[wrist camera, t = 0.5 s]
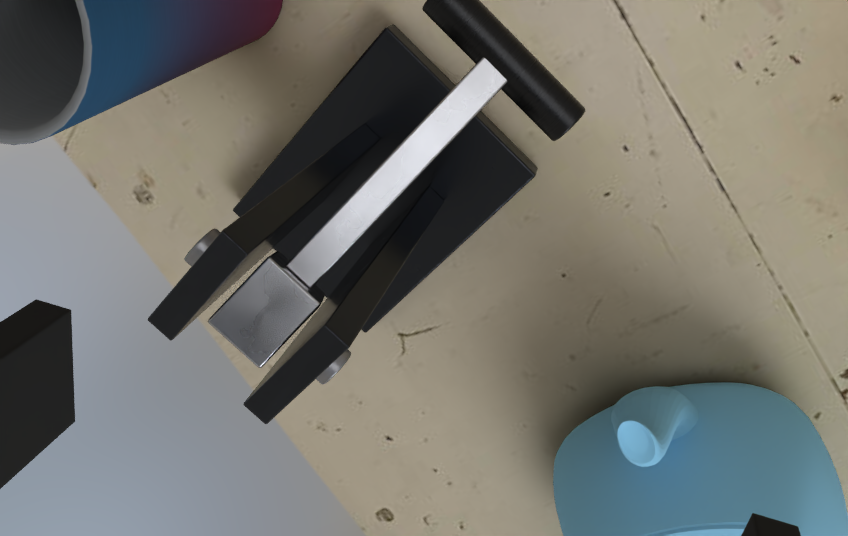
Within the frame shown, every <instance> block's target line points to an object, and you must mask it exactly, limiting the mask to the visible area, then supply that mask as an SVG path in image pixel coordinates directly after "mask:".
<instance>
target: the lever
mask: <svg viewBox="0 0 848 536" xmlns="http://www.w3.org/2000/svg"><path fill="white" fill-rule="evenodd" d="M423 11H424V12H425V13H426V14H427V15H428V16H429V17H430V18H431V19H432V20H433V21H434V22H435V23H436V24H437V25H438V26H439V27H440V28H441V29H442V30H443V31H444V32H445V33H446V34H447V35H448V36H449V37H450V38H451V39H452V40H453V41H454V42H455V43H456V44H457V45H458V46H459V47H460V48H461V49H462V50H463V51H464V52H465V53H466V54H467V55H468V56H469V57H470V58H471V59H472V60H473V61H474V62H475V63H476V65H475V66H474V67H473V68H472V69H471V70H470V71H469V72H468V73H467V74H466V75H465V76H464V77H463V79H462V80H461V81H460V82H459V83H458V84H457V85H456V86H455V87H454V88H453V89H452V90H451V91H450V92H449V93H448V94H447V95H446V96H445V97H444V99H443V100H442V101H441V102H440V103H439V104H438V105H437V106H436V107H435V108H434V109H433V110H432V111H431V112H430V113H429V114H428V115H427V116H426V118H425V119H424V120H423V121H422V122H421V123H420V124H419V125H418V126H417V127H416V128H415V129H414V130H413V131H412V132H411V133H410V134H409V135H408V136H407V138H406V139H405V140H404V141H403V142H402V143H401V144H400V145H399V146H398V147H397V148H396V149H395V150H394V151H393V152H392V153H391V154H390V155H389V157H388V158H387V159H386V160H385V161H384V162H383V163H382V164H381V165H380V166H379V167H378V168H377V169H376V170H375V171H374V172H373V173H372V174H371V176H370V177H369V178H368V179H367V180H366V181H365V182H364V183H363V184H362V185H361V186H360V187H359V188H358V189H357V190H356V191H355V192H354V193H353V194H352V196H351V197H350V198H349V199H348V200H347V201H346V202H345V203H344V204H343V205H342V206H341V207H340V208H339V209H338V210H337V211H336V212H335V213H334V215H333V216H332V217H331V218H330V219H329V220H328V221H327V222H326V223H325V224H324V225H323V226H322V227H321V228H320V229H319V230H318V231H317V232H316V233H315V235H314V236H313V237H312V238H311V239H310V240H309V241H308V242H307V243H306V244H305V245H304V246H303V247H302V248H301V249H300V250H299V251H298V252H297V254H296V255H295V256H294V257H293V258H292V259H291V260H290V261H289V260H288V259H287V258H286V257H285V256H284V255H283V254H282V253H281V252H279V251H277V252H275V253H274V254H272V255H271V256H269V257H267V258H266V259H265V261H264V262H263V263H262V264H261V265H260V266H259V267H258V268H257V269H256V270H255V271H254V272H253V273H252V274H251V275H250V276H249V277H248V278H247V280H246V281H245V282H244V283H243V284H242V285H241V286H240V287H239V288H238V289H237V290H236V291H235V292H234V293H233V294H232V295H231V296H230V297H229V299H228V300H227V301H226V302H225V303H224V304H223V305H222V306H221V307H220V308H219V309H218V310H217V311H216V312H215V313H214V314H213V315H212V316H211V318H210V319H209V320H208V322H209V324H210V325H212V326H213V327H214V328H215V329H216V330H217V331H218V332H219V333H221V334H222V335H223V336H224V337H225V338H226V339H227V340H228V341H229V342H231V343H232V344H233V345H234V346H235V347H236V348H237V349H238V350H240V351H241V352H242V353H243V354H244V355H245V356H246V357H247V358H248V359H250V360H251V361H252V362H253V363H254V364H255V365H256V366H257V367H259V368H261V367H262V366H263V365H264V364H265V363H266V362H267V361H268V360H269V359H270V358H271V357H272V356H273V355H274V354H275V353H276V352H277V351H278V350H279V349H280V347H281V346H282V345H283V344H284V343H285V342H286V341H287V340H288V339H289V338H290V337H291V336H292V335H293V334H294V333H295V332H296V331H297V330H298V329H299V328H300V326H301V325H302V324H303V323H304V322H305V321H306V320H307V319H308V318H309V317H310V316H311V315H312V314H313V313H314V312H315V311H316V310H317V309H318V308H319V307H320V305H321V303H322V301H323V298H324V296H325V293H324V292H323V291H322V290H321V289H320V288H319V287H318V286H317V285H315V284H316V283H317V282H318V281H319V280H320V279H321V278H322V277H323V276H324V275H325V274H326V272H327V271H328V270H329V269H330V268H331V267H332V266H333V265H334V264H335V263H336V262H337V261H338V260H339V259H340V258H341V257H342V256H343V255H344V254H345V252H346V251H347V250H348V249H349V248H350V247H351V246H352V245H353V244H354V243H355V242H356V241H357V240H358V239H359V238H360V237H361V236H362V235H363V234H364V232H365V231H366V230H367V229H368V228H369V227H370V226H371V225H372V224H373V223H374V222H375V221H376V220H377V219H378V218H379V217H380V216H381V215H382V214H383V213H384V211H385V210H386V209H387V208H388V207H389V206H390V205H391V204H392V203H393V202H394V201H395V200H396V199H397V198H398V197H399V196H400V195H401V194H402V193H403V191H404V190H405V189H406V188H407V187H408V186H409V185H410V184H411V183H412V182H413V181H414V180H415V179H416V178H417V177H418V176H419V175H420V174H421V173H422V171H423V170H424V169H425V168H426V167H427V166H428V165H429V164H430V163H431V162H432V161H433V160H434V159H435V158H436V157H437V156H438V155H439V154H440V153H441V152H442V150H443V149H444V148H445V147H446V146H447V145H448V144H449V143H450V142H451V141H452V140H453V139H454V138H455V137H456V136H457V135H458V134H459V133H460V132H461V130H462V129H463V128H464V127H465V126H466V125H467V124H468V123H469V122H470V121H471V120H472V119H473V118H474V117H475V116H476V115H477V114H478V113H479V112H480V111H481V109H482V108H483V107H484V106H485V105H486V104H487V103H488V102H489V101H490V100H491V99H492V98H493V97H494V96H495V95H496V94H497V93H498V92H499V91H500V89H502V90H503V91H504V92H505V93H506V94H507V95H508V96H509V97H510V98H511V99H512V100H513V101H514V102H515V103H516V104H517V105H518V106H519V107H520V108H521V109H522V110H523V111H524V112H525V113H526V114H527V115H528V116H529V117H530V118H531V119H532V120H533V122H534V123H535V124H536V125H537V126H538V127H539V128H540V129H541V130H542V131H543V132H544V133H545V134H546V135H547V136H548V137H549V138H550V139H551V140H553V141H555V140H557V139H559V138H560V137H562V136H563V135H564V134H565V133H566V132H567V131H568V130H570V129H571V128H572V127H573V126H574V125H575V124H576V122H577V121H578V120H579V119H580V118H581V117H582V115H583V114H584V112H585V108H584V107H583V106H582V105H581V104H580V103H579V102H578V101H577V100H576V99H575V98H574V97H573V96H572V94H571V93H570V92H569V91H568V90H567V89H566V88H565V87H564V86H563V85H562V84H561V83H560V82H559V81H558V80H557V79H556V78H555V77H554V76H553V75H552V74H551V73H550V72H549V71H548V70H547V69H546V68H545V67H544V66H543V65H542V64H541V63H540V62H539V61H538V60H537V59H536V58H535V57H534V56H533V55H532V54H531V53H530V52H529V51H528V50H527V49H526V48H525V47H524V46H523V45H522V43H521V42H520V41H519V40H518V39H517V38H516V37H515V36H514V35H513V34H512V33H511V32H510V31H509V30H508V29H507V28H506V27H505V26H504V25H503V24H502V23H501V22H500V21H499V20H498V19H497V18H496V17H495V16H494V15H493V14H492V13H491V12H490V11H489V10H488V9H487V8H486V7H485V6H484V5H483V4H482V3H481V2H480V1H479V0H427V1H426V3H425V4H424V6H423Z"/></svg>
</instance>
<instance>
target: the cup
mask: <svg viewBox="0 0 848 536" xmlns="http://www.w3.org/2000/svg"><path fill="white" fill-rule="evenodd" d="M282 1H283V0H0V143H3V144H11V145H16V144H27V143H34V142H36V141H39V140H42V139H45V138H47V137H50V136H52V135H54V134H57V133H59V132H61V131H63V130H65V129H67V128H69V127H71V126H74V125H76V124H78V123H80V122H82V121H84V120H86V119H89V118H91V117H93V116H95V115H97V114H99V113H101V112H104V111H106V110H108V109H110V108H112V107H114V106H116V105H119V104H121V103H123V102H125V101H127V100H129V99H131V98H133V97H136V96H138V95H140V94H142V93H144V92H146V91H148V90H151V89H153V88H155V87H157V86H159V85H161V84H163V83H166V82H168V81H170V80H172V79H174V78H176V77H178V76H181V75H183V74H185V73H187V72H189V71H191V70H193V69H196V68H198V67H200V66H202V65H204V64H206V63H208V62H210V61H213V60H215V59H217V58H219V57H221V56H223V55H225V54H228V53H230V52H232V51H234V50H236V49H238V48H240V47H243V46H245V45H247V44H249V43H251V42H253V41H255V40H258V39H259V38H261V37H262V36H264V35H265V34H266V33H267V32H268V31H269V30H270V29H271V28H272V27H273V25H274V23H275V22H276V20H277V19H278V16H279V13H280V11H281V8H282Z"/></svg>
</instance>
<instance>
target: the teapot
mask: <svg viewBox="0 0 848 536" xmlns="http://www.w3.org/2000/svg"><path fill="white" fill-rule="evenodd" d="M553 485H554V497H555V504H556V509H557V513H558V517H559V521H560V525H561V529H562V532H563V536H741V535H742V533H743V531H744V529H745V527H746V525H747V523H748V521H749V519H750V517H751V515H752V513H755V514H758V515H762V516H765V517H768V518H772V519H775V520H778V521H782V522H785V523H788V524H792V525H795V526H798V528H799V531H800V535H801V536H848V515H847V509H846V504H845V499H844V495H843V491H842V488H841V484H840V481H839V478H838V475H837V472H836V470H835V467H834V465H833V462H832V460H831V457H830V455H829V453H828V451H827V449H826V447H825V445H824V443H823V441H822V439H821V437H820V435H819V434H818V432H817V430H816V429H815V427H814V426H813V424H812V422H811V421H810V419H809V417H808V416H807V415H806V414H805V413H804V412H803V411H802V410H801V409H800V408H799V407H798V406H797V405H796V404H795V403H794V402H792V401H791V400H789V399H787V398H786V397H784V396H783V395H780V394H778V393H776V392H773V391H771V390H769V389H766V388H763V387H759V386H754V385H750V384H744V383H731V382H720V383H698V384H686V385H678V386H671V387H661V386H654V387H646V388H642V389H638V390H635V391H632V392H630V393H628V394H627V395H625V396H623V397H622V398H621V399H620V400H619V401H618V402H617V403H616V404H615V405H613V406H611V407H609V408H607V409H605V410H603V411H601V412H599V413H597V414H596V415H594V416H592V417H590V418H589V419H587V420H586V421H584V422H583V423H582V424H580V425H579V426H577V427H576V428H575V429H574V430H573V431H572V432H571V433H570V434H569V435H568V436H567V437H566V438H565V439H564V441H563V443H562V444H561V446H560V448H559V450H558V451H557V454H556V458H555V461H554V476H553Z"/></svg>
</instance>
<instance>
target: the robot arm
mask: <svg viewBox="0 0 848 536" xmlns="http://www.w3.org/2000/svg"><path fill="white" fill-rule="evenodd" d="M74 422H75V409H74V381H73V353H72V325H71V310H69V309H66V308H62V307H60V306H56V305H53V304H50V303H46V302H43V301H39V300H35V301H33V302H32V303H30V304H28V305H27V306H25V307H24V308H22V309H21V310H19V311H17V312H16V313H14V314H13V315H11V316H9V317H8V318H6V319H5V320H3V321H2V322H0V489H1V488H2V487H3V486H4V485H5V484H6V483H7V482H8V481H9V480H11V479H12V478H13V477H14V476H15V475H16V474H17V473H18V472H19V471H20V470H22V469H23V468H24V467H25V466H26V465H27V464H28V463H29V462H30V461H32V460H33V459H34V458H35V457H36V456H37V455H38V454H39V453H40V452H41V451H43V450H44V449H45V448H46V447H47V446H48V445H49V444H50V443H51V442H53V441H54V440H55V439H56V438H57V437H58V436H59V435H60V434H61V433H63V432H64V431H65V430H66V429H67V428H68V427H69V426H70V425H71V424H73V423H74ZM741 536H801V535H800V531H799V528H798V526H795V525H792V524H788V523H785V522H782V521H778V520H775V519H772V518H768V517H765V516H762V515H758V514H755V513H752V515H751V517H750V519H749V521H748V523H747V525H746V527H745V529H744V531H743V533H742V535H741Z"/></svg>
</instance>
